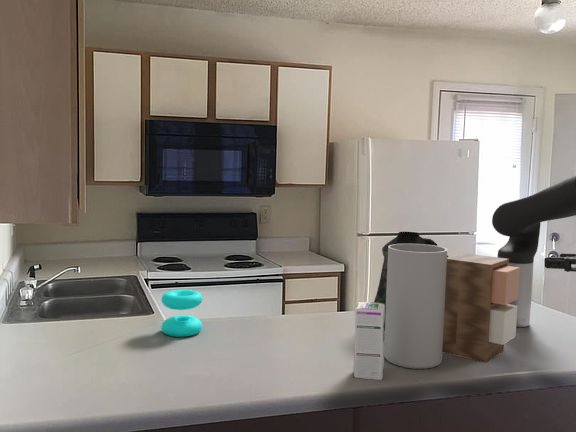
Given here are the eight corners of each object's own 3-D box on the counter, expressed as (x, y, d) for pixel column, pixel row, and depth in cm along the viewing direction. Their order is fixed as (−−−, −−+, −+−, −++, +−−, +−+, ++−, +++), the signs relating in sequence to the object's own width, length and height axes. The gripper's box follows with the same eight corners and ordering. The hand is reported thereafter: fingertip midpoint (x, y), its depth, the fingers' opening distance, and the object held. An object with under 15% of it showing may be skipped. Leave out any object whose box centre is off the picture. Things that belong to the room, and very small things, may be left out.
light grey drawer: (515, 336, 133) (517, 305, 132) (502, 344, 127) (504, 312, 126) (488, 331, 137) (490, 301, 136) (475, 338, 130) (476, 307, 130)
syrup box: (382, 380, 116) (385, 309, 115) (352, 377, 117) (355, 307, 116) (383, 370, 122) (386, 302, 120) (355, 368, 123) (357, 300, 121)
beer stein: (358, 319, 160) (361, 229, 158) (417, 313, 168) (421, 227, 165) (391, 337, 145) (395, 237, 143) (454, 329, 152) (459, 235, 150)
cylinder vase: (451, 368, 124) (457, 252, 121) (395, 371, 122) (400, 252, 119) (427, 349, 136) (432, 243, 133) (376, 351, 134) (380, 243, 131)
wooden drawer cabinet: (503, 351, 136) (508, 258, 134) (485, 362, 128) (491, 264, 126) (458, 340, 143) (463, 253, 141) (439, 351, 135) (443, 258, 133)
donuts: (155, 291, 146) (192, 286, 151) (155, 330, 147) (191, 324, 152) (171, 299, 137) (209, 294, 143) (171, 340, 138) (209, 334, 144)
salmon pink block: (517, 298, 132) (519, 267, 131) (505, 305, 126) (507, 272, 125) (490, 294, 136) (492, 263, 135) (477, 300, 130) (479, 268, 129)
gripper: (650, 240, 114) (564, 240, 126) (631, 246, 104) (539, 245, 115) (652, 279, 115) (565, 274, 126) (632, 288, 104) (540, 282, 116)
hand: (552, 260), depth 121 cm, fingers open, 8 cm apart
